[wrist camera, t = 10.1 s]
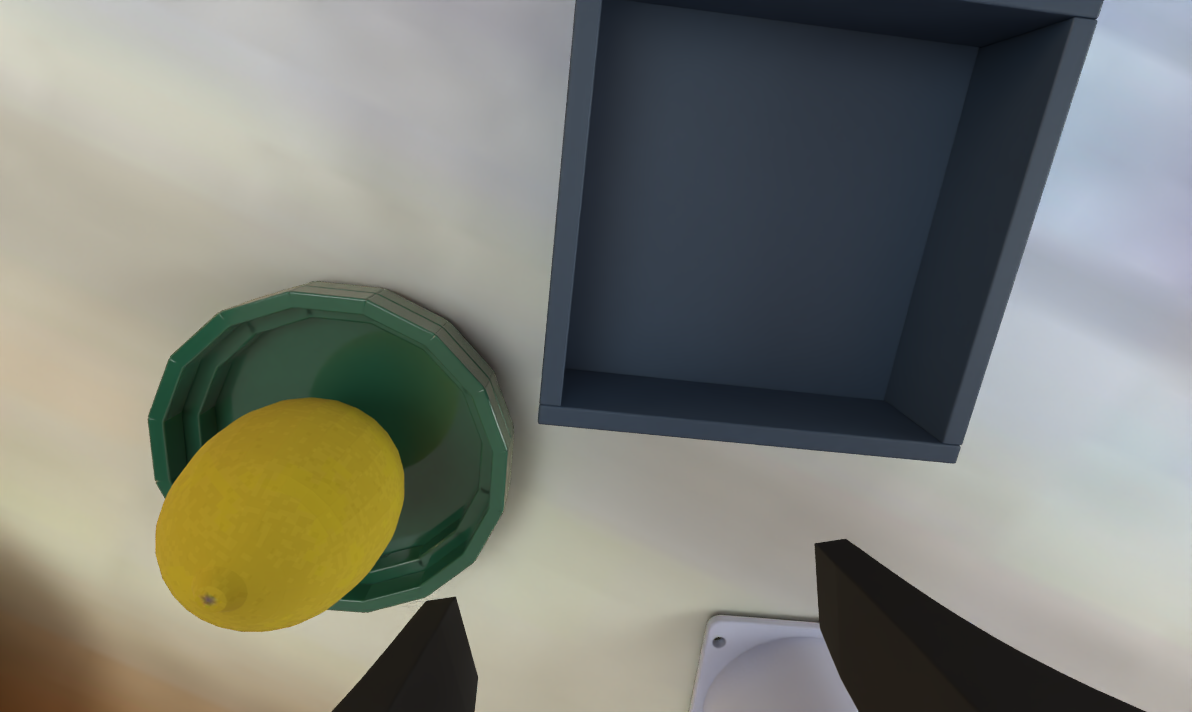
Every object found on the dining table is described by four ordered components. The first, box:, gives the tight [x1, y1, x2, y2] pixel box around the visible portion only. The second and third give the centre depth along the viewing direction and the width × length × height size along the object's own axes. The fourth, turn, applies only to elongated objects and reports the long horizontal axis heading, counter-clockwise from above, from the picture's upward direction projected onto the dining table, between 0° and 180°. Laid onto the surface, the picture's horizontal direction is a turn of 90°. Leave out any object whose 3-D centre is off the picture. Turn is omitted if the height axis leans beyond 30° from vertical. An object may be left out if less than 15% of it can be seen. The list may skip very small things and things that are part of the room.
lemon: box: [156, 398, 404, 632], centre depth 16 cm, size 6×6×8 cm
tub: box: [538, 0, 1104, 463], centre depth 17 cm, size 12×12×4 cm
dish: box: [148, 281, 514, 613], centre depth 20 cm, size 11×11×2 cm
